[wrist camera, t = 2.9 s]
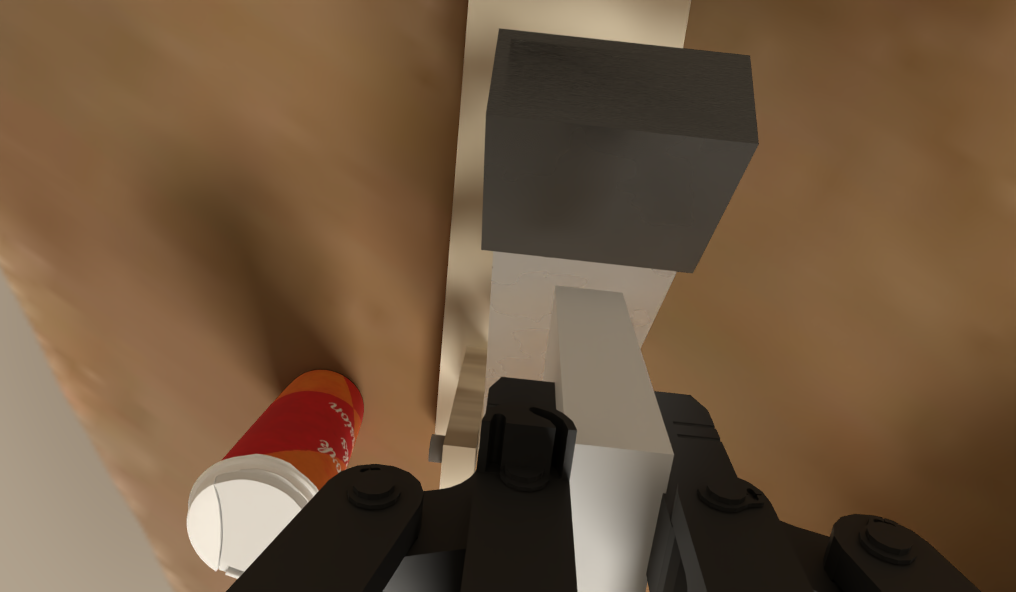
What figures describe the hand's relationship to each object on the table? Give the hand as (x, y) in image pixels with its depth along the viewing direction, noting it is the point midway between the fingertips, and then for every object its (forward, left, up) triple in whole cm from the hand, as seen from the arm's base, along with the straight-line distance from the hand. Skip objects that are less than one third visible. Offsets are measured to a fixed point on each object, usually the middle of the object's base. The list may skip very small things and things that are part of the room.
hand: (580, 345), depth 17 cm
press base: (-4, 0, -30) cm, 30 cm away
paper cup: (-19, +14, -30) cm, 38 cm away
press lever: (-4, 0, -11) cm, 12 cm away
